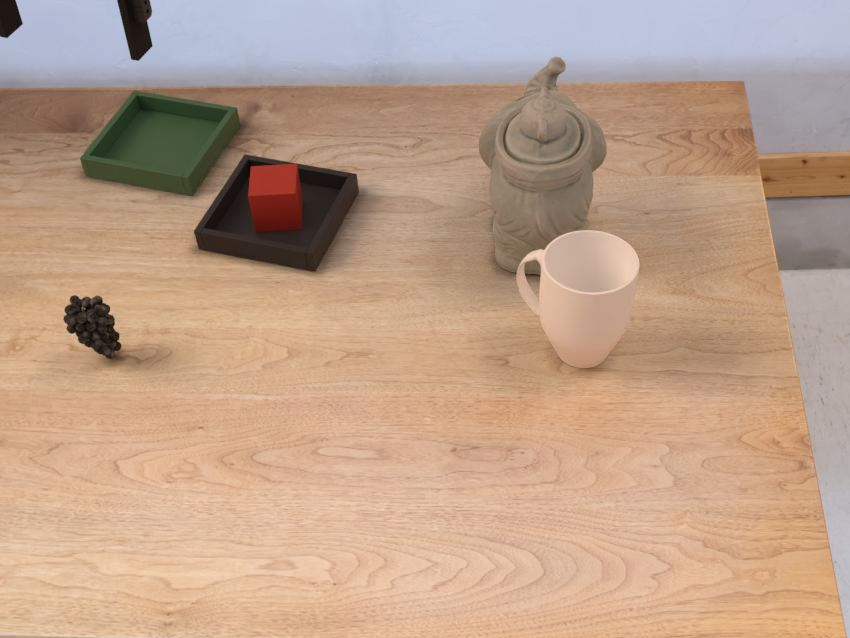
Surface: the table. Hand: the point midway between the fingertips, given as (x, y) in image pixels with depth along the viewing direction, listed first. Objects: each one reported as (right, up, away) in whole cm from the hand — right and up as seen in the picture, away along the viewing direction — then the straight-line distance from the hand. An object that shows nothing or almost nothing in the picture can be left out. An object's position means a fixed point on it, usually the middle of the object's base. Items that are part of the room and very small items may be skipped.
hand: (76, 41), depth 103 cm
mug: (+46, -28, +8) cm, 54 cm away
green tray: (+1, -2, +29) cm, 29 cm away
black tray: (+16, -12, +20) cm, 28 cm away
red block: (+16, -12, +20) cm, 28 cm away
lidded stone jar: (+44, -14, +18) cm, 50 cm away
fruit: (0, -29, +8) cm, 30 cm away
